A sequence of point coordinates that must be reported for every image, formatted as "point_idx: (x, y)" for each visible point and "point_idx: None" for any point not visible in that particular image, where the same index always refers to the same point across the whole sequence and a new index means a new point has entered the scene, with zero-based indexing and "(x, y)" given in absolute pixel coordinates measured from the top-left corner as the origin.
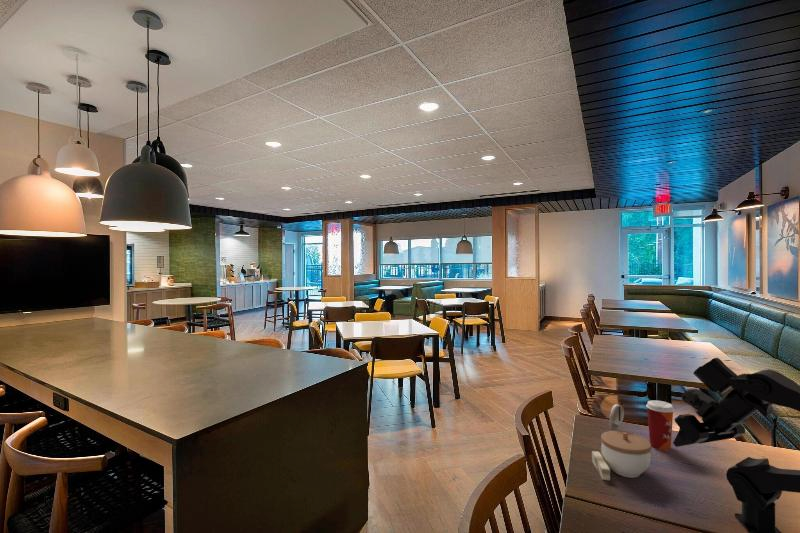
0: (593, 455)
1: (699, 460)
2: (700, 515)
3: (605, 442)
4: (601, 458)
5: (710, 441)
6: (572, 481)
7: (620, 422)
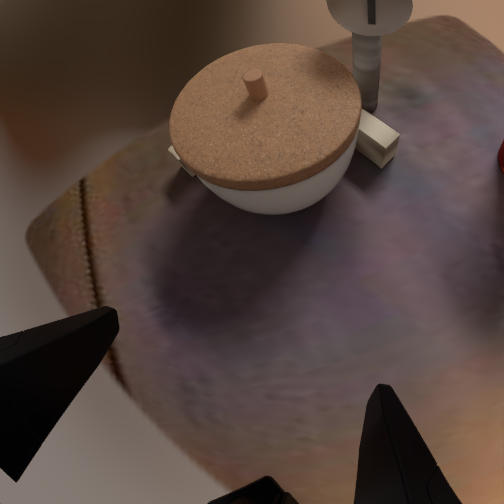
0: None
1: None
2: (196, 410)
3: (185, 86)
4: None
5: (356, 489)
6: (131, 143)
7: (380, 31)
